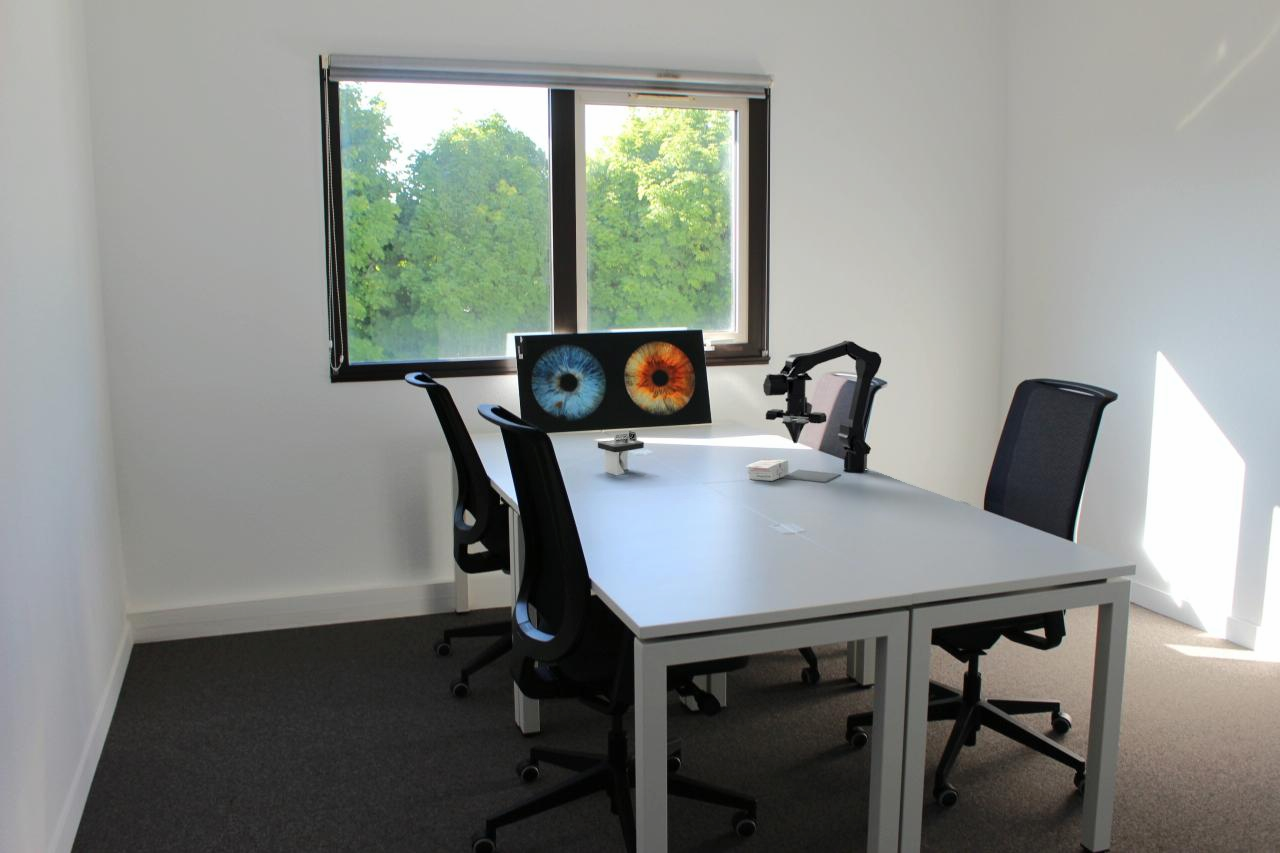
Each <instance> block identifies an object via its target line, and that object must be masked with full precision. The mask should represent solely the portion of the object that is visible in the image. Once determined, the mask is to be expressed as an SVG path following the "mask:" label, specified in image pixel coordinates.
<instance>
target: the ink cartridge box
mask: <svg viewBox="0 0 1280 853" xmlns="http://www.w3.org/2000/svg"><path fill="white" fill-rule="evenodd" d="M745 468H748V478H749V480H755V481H757V480H758V481H768V482H771V481H776V480H777V479H780V478H782V477H783V476H786V475H788V474H789V473H790V472H789V460H788V459H771V458H770V459H767V458H766V459H765V458H763V459H761V460H759V461H755V462H752V463H749V464H747V465H745Z"/></svg>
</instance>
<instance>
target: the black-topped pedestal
mask: <svg viewBox="0 0 1280 853" xmlns="http://www.w3.org/2000/svg"><path fill="white" fill-rule="evenodd" d="M613 438H614V439H613V440H605V441H602V440H601V441H598V442H597V448H598V449H600V450H604V472H605V473H607V474H611V475H614V476H620V475H623V474H625V471H626V470H628V467H629V465H628V464H629V462H628V458H629V456H628V453H629V451H633V450H635V451H636V450H639V449H644V448H645V446H644V445H645V442H644V441H641V440H638V433H637V432H633V431H632V430H631V431H630V430H627V433H625V434H622V435H619V434H617V435H616V434H613Z"/></svg>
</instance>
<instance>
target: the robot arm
mask: <svg viewBox="0 0 1280 853" xmlns="http://www.w3.org/2000/svg"><path fill="white" fill-rule="evenodd" d="M844 356H848V357H849V358H850V359H852V360H853V361H855V367H854V368H855V373H856V380H855V381H856V382H855V386H854V390H853V395H852V400H851V404H850V410H849V413H848V418H847V421H846V422H845V423H844V424H843V423H840V424H839V432H838V434H837V436H838V441H839V443H840V445H842V447H843V450H844V451H845V455H844V456H843V472H845V473H846V472H847V473H858V474H863V473H865V472H867V471H868V470H869V468H868V466H867V465H868V455H869V454H870V453H871V449H872V448H871V447H870V445H869V444H868V443H867V442H866V441H865V433H866V432H865V427H864V418H865V413H866V408H867V405H868V400H869V395H870V389H871V387H872V386H871V385H872V381H873V380H874V377H876V375H877V373H878V372H879V370H880V367H881V363H882V357H881V355H880V354H879V353H878V352H876V351H872V350H868V349H867V348H864V347H862V346H860V345H859V344H857V343H855V341H850V340H843V341H842V342H839V343H836V344H834V345H831V346H827V347H825V348H821V349H819V350H815V351H811V352H806V353H805V352H803V353H794V354H790V355H788V356H787V358H786V359H785V363H784V365H783V367H782V368H781V369H780V371H779V372H778V373H777V374H776V373H775V374H772V373H767V374H766V378H765V379H764V382H763V387H762V388H763V393H764V395H765V396H769V397H770V396H784V395H785V394H786V393H787V395H786V398H785V402H786V410H785V412H784V409H780V408H779V409H778V408H776V409H775V408H772V409H769V410H767V411H766V413H765V420H767V421H768V420H770V421H774V420H777V419H782V421H781V424H784V425H785V427H786V429H787V431H788V433H789V435H790V438H791V439H792V442H793V444H797V443H798V442H799V439H800V436H801V433H802V432H803V429H804V427H805V425H806V424H809V423H810V424H823V423H825V422H827V414H826V413H825V412H819V411H818V412H817V411H814V412H812V409H813V405H812V404H811V402H810V403H809V402H808V397H807V396H806V387H807V386H806V384H807V382H806V381H812V380H813V377H811V376H810V375H809V373H808V372H809V371H811V370H812V369H814V368H815V367H816V366H818V365H820V364H823V363H827V362H829V361H832V360H834V359H835V360H836V359H838V358H841V357H844ZM865 469H868V470H865Z"/></svg>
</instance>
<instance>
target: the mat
mask: <svg viewBox="0 0 1280 853" xmlns="http://www.w3.org/2000/svg"><path fill="white" fill-rule="evenodd" d="M840 476H841V473H834V472H827V471H826V472H825V471H818V470H817V471H816V470H815V471H814V470H806V469H797V470H794V471H792V472H789V474H788V475H786V476H783V477H781V479H786V480H787V479H788V480H796V481H797V480H798V481H804V482H815V483H822V484H823V483H824V484H826V483H828V482H829V481H832V480H834V479H835V478H838V477H840Z"/></svg>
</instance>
